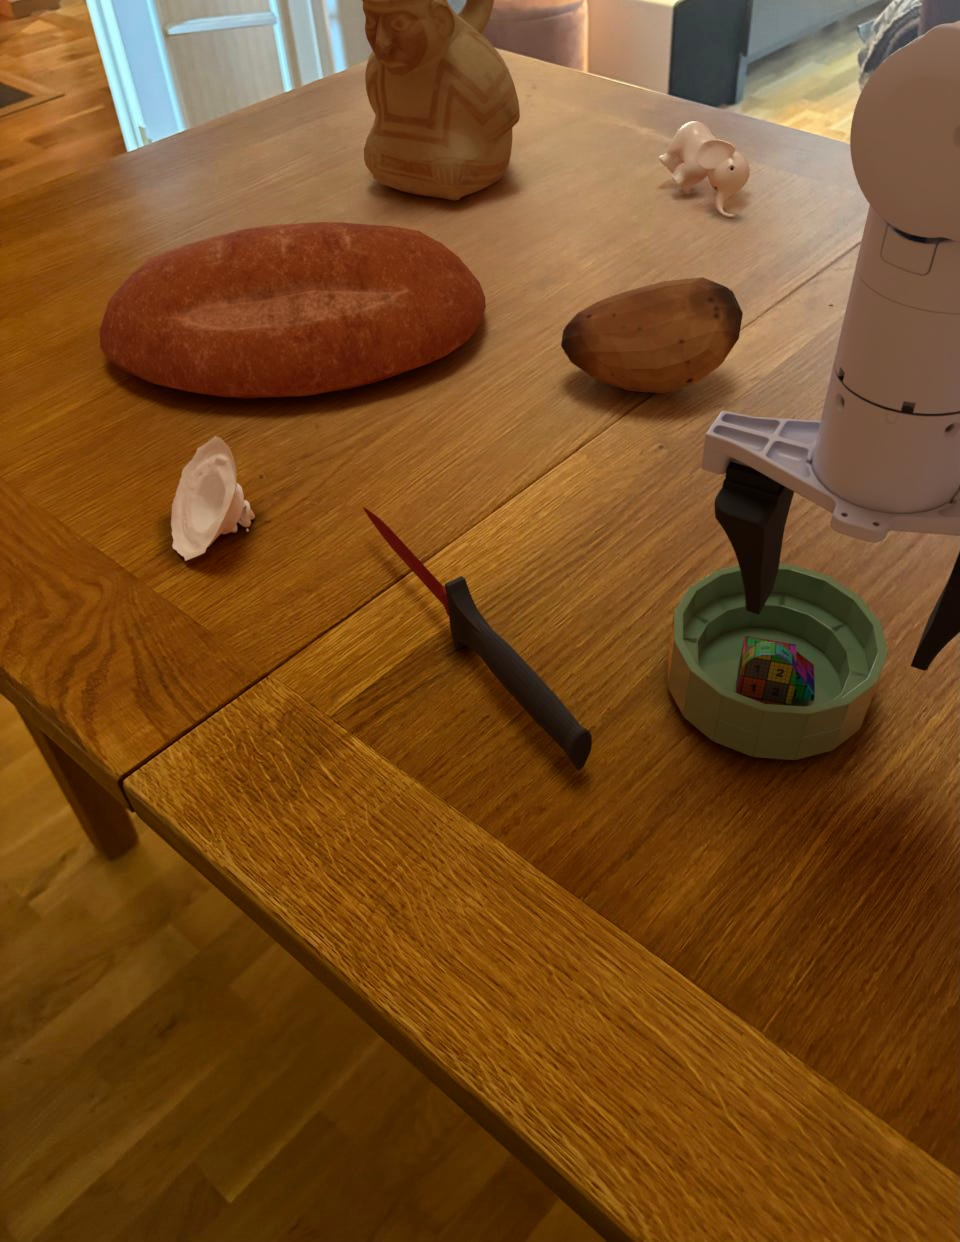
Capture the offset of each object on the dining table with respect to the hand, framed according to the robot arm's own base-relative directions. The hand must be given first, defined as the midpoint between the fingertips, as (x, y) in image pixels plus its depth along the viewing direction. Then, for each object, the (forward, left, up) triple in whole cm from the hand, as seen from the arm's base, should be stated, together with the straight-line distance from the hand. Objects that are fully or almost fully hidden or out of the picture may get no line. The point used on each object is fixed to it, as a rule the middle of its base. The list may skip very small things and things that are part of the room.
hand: (838, 626), depth 48 cm
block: (+2, -2, -8) cm, 9 cm away
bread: (+50, -23, -10) cm, 56 cm away
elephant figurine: (+29, -62, -10) cm, 69 cm away
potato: (+21, -29, -10) cm, 37 cm away
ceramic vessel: (+55, -56, -10) cm, 79 cm away
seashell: (+40, 0, -10) cm, 41 cm away
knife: (+20, +1, -10) cm, 23 cm away
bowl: (+3, -4, -10) cm, 11 cm away
